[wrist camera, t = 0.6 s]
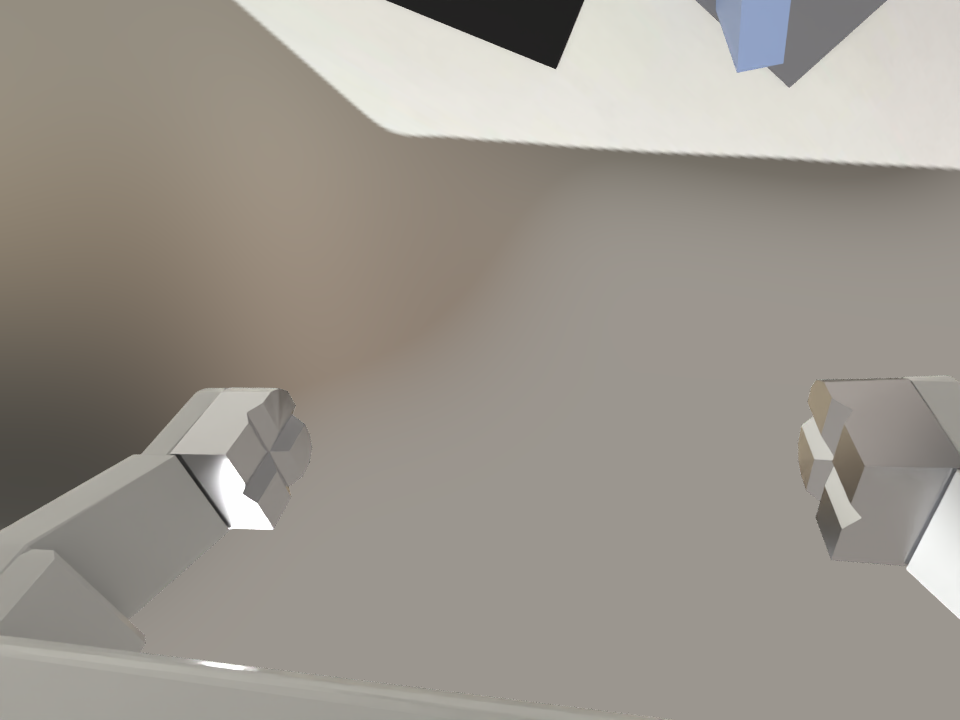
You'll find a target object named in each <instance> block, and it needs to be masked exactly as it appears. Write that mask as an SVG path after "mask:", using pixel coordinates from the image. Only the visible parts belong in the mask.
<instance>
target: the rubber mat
mask: <svg viewBox="0 0 960 720" xmlns="http://www.w3.org/2000/svg"><path fill="white" fill-rule="evenodd" d="M696 1H697V2H698V3H699V4H700V5H701V6H702V7H703V8H705V9H706V10H707V11H708V12H709V13H710V14H711V15H712V16H713V17H714V18H715V19H716V20H717V21H718V22H720V21H719V18H718V15H717V12H716V0H696ZM886 1H887V0H791V4H790V12H789V21H788V29H787V37H786V45H785V54H784V62H783V64H778V65H773V66H768V68H769V69H770V70H771V71H772V72H773V73H774V74H775V75H776V76H777V77H778V78H780V79H781V80H782V81H783V82H784V83H785V84H786V85H787V86H788V87H789V88H790V87H791V86H792V85H793V84H794V83H795V82H796V81H797V80H799V79H800V78H801V77H802V76H803V75H804V74H805V73H806V72H808V71H809V70H810V69H811V68H812V67H813V66H814V65H815V64H816V63H818V62H819V61H820V60H821V59H822V58H823V57H824V56H825V55H826V54H828V53H829V52H830V51H831V50H832V49H833V48H834V47H835V46H837V45H838V44H839V43H840V42H841V41H842V40H843V39H844V38H845V37H847V36H848V35H849V34H850V33H851V32H852V31H853V30H854V29H855V28H857V27H858V26H859V25H860V24H861V23H862V22H863V21H864V20H865V19H867V18H868V17H869V16H870V15H871V14H872V13H873V12H874V11H876V10H877V9H878V8H879V7H880V6H881V5H882V4H883V3H884V2H886Z"/></svg>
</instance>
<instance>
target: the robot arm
mask: <svg viewBox="0 0 960 720" xmlns="http://www.w3.org/2000/svg"><path fill="white" fill-rule="evenodd" d="M807 402H808V405H809V407H810V410H811V412H812V415H813V417H812V418H810V419H809V420H808V421H806V422H805V423H804V424H803V425H802V426H801V430H800V435H799V440H798V463H799V468H800V473H801V477H802V480H803V483H804V486H805V489H806V491H807V492H809V493H810V494H811V495H812V496H814V497H815V498H816V499H818V500H819V501H820V504H819V507H818V511H817V514H816V520H817V523H818V526H819V528H820V531H821V534H822V537H823V539H824V542H825V545H826V547H827V550H828V553H829V556H830V558H831V560H836V561H848V562H860V563H873V564H886V565H899V566H907V568H906V570H907V571H908V572H909V573H911V574H912V575H913V576H914V577H915V578H916V579H917V580H918V581H920V583H921V584H922V585H923V586H925V587H926V588H927V589H928V590H929V591H930V592H931V593H932V594H933V595H934V596H935V597H936V598H937V599H938V600H940V601H941V602H942V603H943V604H944V605H945V606H946V607H947V608H948V609H949V610H950V611H952V613H954V614H955V615H956V616H957V617H958V618H959V619H960V383H959V381H958V380H956V379H954V378H952V377H950V376H948V375H946V376H917V377H902V378H871V379H826V380H816V381H815V382H814V384H813V385H812V387H811V389H810V394H809V397H808V401H807ZM295 406H296V405H295V403H294V402H293V400H292V398H291V396H290V395H289V393H288V391H286V390H283V389H279V388H206V389H203V390H200V391H198V392H196V393H195V394H194V396H192V398H191V399H190V400H189V401H188V402H187V403H186V404H185V405H184V407H183V408H182V409H181V410H180V411H179V412H178V413H177V415H176V416H175V417H174V418H173V419H172V420H171V421H170V422H169V424H168V425H167V426H166V427H165V428H164V429H163V430H162V431H161V433H160V434H159V435H158V436H157V437H156V438H155V439H154V440H153V442H152V443H151V444H150V445H149V446H148V447H147V448H146V450H145V451H144V452H143V453H142V454H141V455H132V456H130V457H129V458H126V459H125V460H123V461H121V462H119V463H118V464H116V465H114V466H113V467H111V468H109V469H107V470H106V471H104V472H102V473H100V474H99V475H97V476H95V477H93V478H92V479H90V480H88V481H86V482H85V483H83V484H81V485H79V486H78V487H76V488H74V489H72V490H71V491H69V492H67V493H65V494H64V495H62V496H60V497H58V498H57V499H55V500H53V501H51V502H50V503H48V504H46V505H45V506H43V507H41V508H39V509H38V510H36V511H34V512H32V513H31V514H29V515H27V516H25V517H24V518H22V519H20V520H18V521H17V522H15V523H13V524H11V525H10V526H8V527H6V528H4V529H3V530H1V531H0V720H672V719H664V718H655V717H648V716H640V715H632V714H623V713H616V712H608V711H601V710H593V709H585V708H577V707H569V706H560V705H553V704H545V703H537V702H529V701H521V700H514V699H506V698H498V697H490V696H481V695H474V694H466V693H458V692H450V691H442V690H434V689H426V688H419V687H410V686H403V685H395V684H387V683H379V682H371V681H363V680H355V679H347V678H339V677H331V676H324V675H316V674H307V673H299V672H292V671H284V670H276V669H268V668H260V667H252V666H244V665H236V664H228V663H220V662H212V661H204V660H196V659H188V658H180V657H172V656H164V655H156V654H148V653H141V650H142V648H143V647H144V645H145V644H146V642H145V635H144V634H143V633H142V632H141V631H140V630H139V629H138V628H137V627H136V626H135V625H133V624H132V623H131V622H130V621H129V619H130V618H131V617H133V616H134V615H135V614H136V613H137V612H138V611H140V610H141V609H142V608H143V607H144V606H145V605H146V604H147V603H149V602H150V601H151V600H152V599H153V598H154V597H155V596H156V595H158V594H159V593H160V592H161V591H162V590H163V589H164V588H165V587H167V586H168V585H169V584H170V583H171V582H172V581H173V580H175V579H176V578H177V577H178V576H179V575H180V574H181V573H183V572H184V571H185V570H186V569H187V568H188V567H189V566H190V565H192V564H193V563H194V562H195V561H196V560H197V559H198V558H200V557H201V556H202V555H203V554H204V553H205V552H206V551H207V550H209V549H210V548H211V547H212V546H213V545H214V544H215V543H216V542H218V541H219V540H220V539H221V538H222V537H223V536H224V535H226V534H227V533H228V532H229V528H238V529H274V528H275V526H276V524H277V522H278V520H279V519H280V517H281V514H282V513H283V511H284V509H285V508H286V505H287V504H288V502H289V500H290V499H291V493H290V489H289V486H290V485H292V484H293V483H295V482H296V481H297V480H298V479H300V478H301V477H302V476H303V475H304V473H305V471H306V469H307V467H308V465H309V463H310V457H311V450H312V444H311V439H310V434H309V432H308V429H307V427H306V425H305V424H304V423H303V422H301V421H300V420H299V419H297V418H296V417H295V416H293V412H294V409H295Z"/></svg>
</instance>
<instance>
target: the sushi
mask: <svg viewBox="0 0 960 720" xmlns="http://www.w3.org/2000/svg"><path fill="white" fill-rule="evenodd" d="M387 1H389V2H392V3H394V4H397V5H399V6H402V7H404V8H406V9H409V10H411V11H414V12H416V13H419V14H421V15H424V16H426V17H429V18H431V19H434V20H436V21H438V22H441V23H443V24H446V25H448V26H451V27H453V28H456V29H458V30H461V31H463V32H466V33H468V34H470V35H473V36H475V37H478V38H480V39H483V40H485V41H488V42H490V43H493V44H495V45H497V46H500V47H502V48H505V49H507V50H510V51H512V52H515V53H517V54H520V55H522V56H525V57H527V58H529V59H532V60H534V61H537V62H539V63H542V64H544V65H547V66H549V67H552V68H554V69H556V67H557V65H558V62H559V60H560V57H561V55H562V52H563V50H564V48H565V45H566V43H567V40H568V38H569V35H570V33H571V30H572V28H573V25H574V23H575V20H576V18H577V16H578V13H579V11H580V8H581V6H582V3H583V1H584V0H387Z"/></svg>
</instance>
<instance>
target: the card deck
mask: <svg viewBox="0 0 960 720" xmlns="http://www.w3.org/2000/svg"><path fill="white" fill-rule="evenodd" d="M790 4H791V0H716V12H717V15H718V18H719V21H720V24H721V27H722V30H723V33H724V36H725V39H726V42H727V44H728V47H729V50H730V53H731V56H732V59H733V62H734V65H735V68H736V71H737V73H738V72H743V71H748V70H753V69H758V68H763V67H768V66H773V65H778V64H783V62H784V54H785V45H786V37H787V29H788V21H789V12H790Z"/></svg>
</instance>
